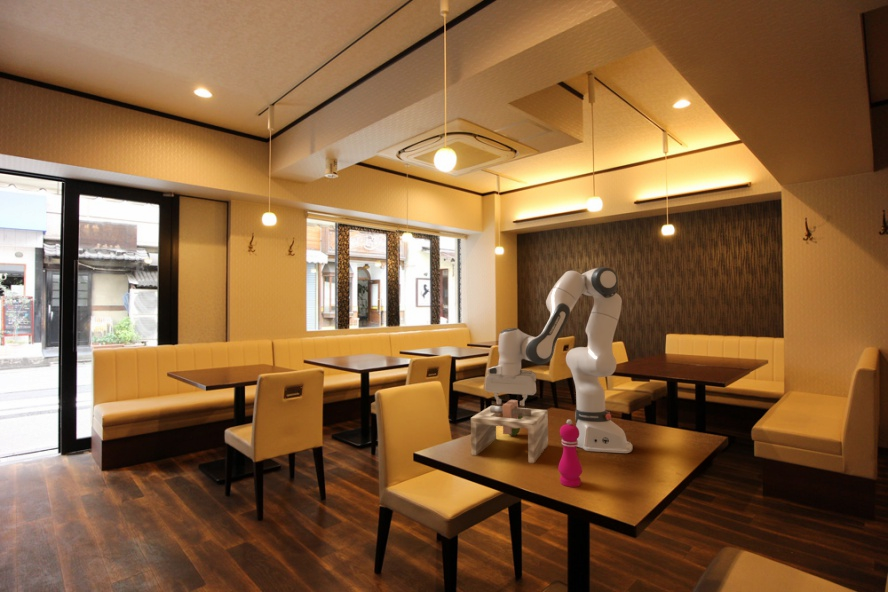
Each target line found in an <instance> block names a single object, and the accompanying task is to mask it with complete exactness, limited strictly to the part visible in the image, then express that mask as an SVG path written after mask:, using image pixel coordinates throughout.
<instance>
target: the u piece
mask: <svg viewBox="0 0 888 592" xmlns="http://www.w3.org/2000/svg"><path fill="white" fill-rule="evenodd" d="M518 402H519V401H518V400H516V399H510V400H508V401H507V402H505V403H503V404H502V406H503V414H502V417H503V418H513V419H518V415H517V414H512V411H511V410H512V409H514V408H519V403H518ZM512 428H514V429H518V428H515V427H505V426H502V434H504V435H509V434H510V435H509V436H512V435H511V434H512Z"/></svg>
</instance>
